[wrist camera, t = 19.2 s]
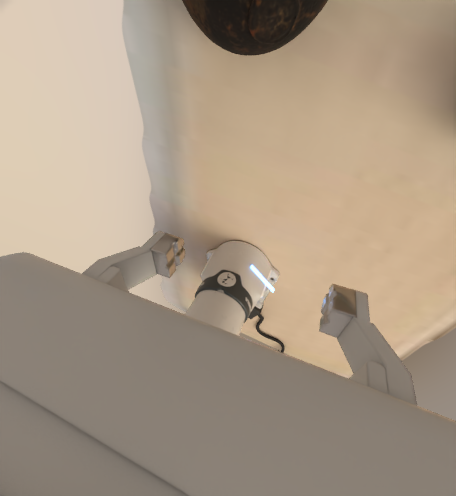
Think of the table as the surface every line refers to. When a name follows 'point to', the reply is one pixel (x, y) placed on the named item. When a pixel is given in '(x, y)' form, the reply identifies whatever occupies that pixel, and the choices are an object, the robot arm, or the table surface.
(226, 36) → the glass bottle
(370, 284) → the table surface
